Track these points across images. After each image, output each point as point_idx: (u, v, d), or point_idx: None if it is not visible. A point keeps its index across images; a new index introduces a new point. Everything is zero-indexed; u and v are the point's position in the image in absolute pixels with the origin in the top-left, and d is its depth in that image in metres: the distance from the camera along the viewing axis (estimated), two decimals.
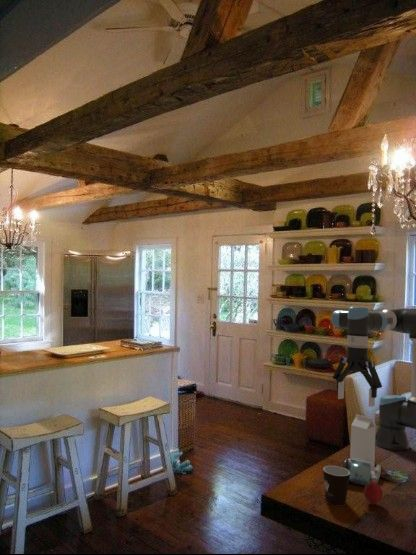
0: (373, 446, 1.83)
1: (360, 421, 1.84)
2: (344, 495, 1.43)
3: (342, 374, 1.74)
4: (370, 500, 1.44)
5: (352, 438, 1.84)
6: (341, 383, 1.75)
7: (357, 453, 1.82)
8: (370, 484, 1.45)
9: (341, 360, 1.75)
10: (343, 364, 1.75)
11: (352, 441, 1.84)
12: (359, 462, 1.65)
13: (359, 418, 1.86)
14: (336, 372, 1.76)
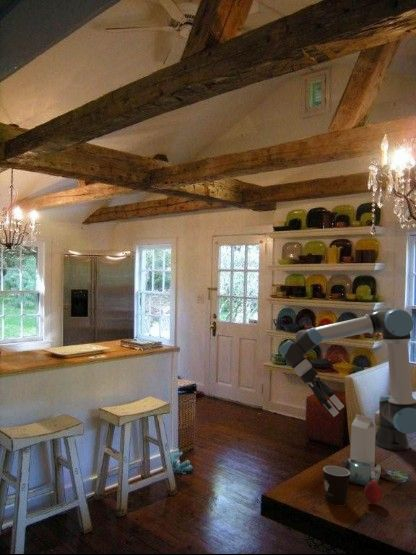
0: (373, 446, 1.83)
1: (360, 421, 1.84)
2: (344, 495, 1.43)
3: None
4: (370, 500, 1.44)
5: (352, 438, 1.84)
6: (331, 397, 1.97)
7: (357, 453, 1.82)
8: (370, 484, 1.45)
9: None
10: (320, 383, 1.99)
11: (352, 441, 1.84)
12: (359, 462, 1.65)
13: (359, 418, 1.86)
14: None
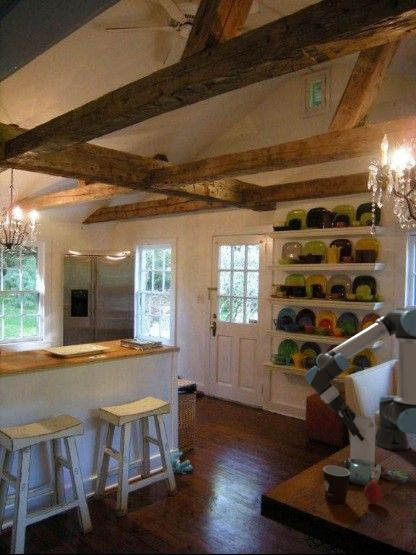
0: (373, 446, 1.83)
1: (360, 421, 1.84)
2: (344, 495, 1.43)
3: None
4: (370, 500, 1.44)
5: (352, 438, 1.84)
6: None
7: (357, 453, 1.82)
8: (370, 484, 1.45)
9: None
10: None
11: (352, 441, 1.84)
12: (359, 462, 1.65)
13: (359, 418, 1.86)
14: None
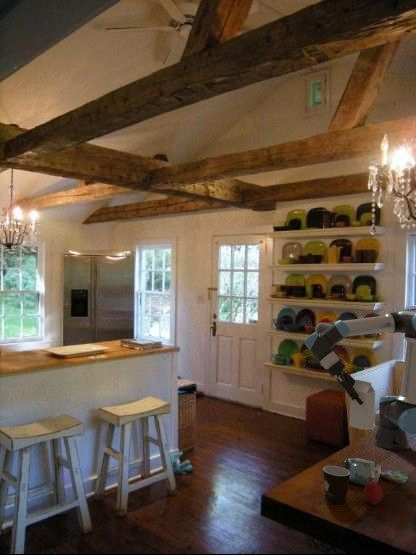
0: (372, 411, 1.82)
1: (360, 386, 1.83)
2: (344, 495, 1.43)
3: None
4: (370, 500, 1.44)
5: (351, 403, 1.83)
6: None
7: (356, 418, 1.81)
8: (370, 484, 1.45)
9: None
10: None
11: (351, 406, 1.83)
12: (359, 462, 1.65)
13: (359, 383, 1.85)
14: None
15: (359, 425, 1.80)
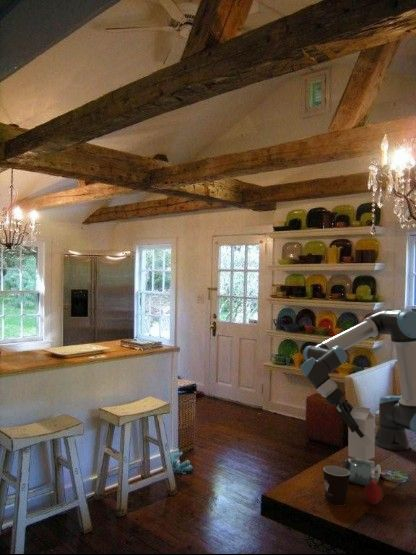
0: (373, 439, 1.70)
1: (358, 412, 1.71)
2: (344, 495, 1.43)
3: None
4: (370, 500, 1.44)
5: (350, 431, 1.71)
6: None
7: (355, 447, 1.69)
8: (370, 484, 1.45)
9: None
10: None
11: (350, 434, 1.71)
12: (359, 462, 1.65)
13: (356, 409, 1.73)
14: None
15: (359, 455, 1.67)
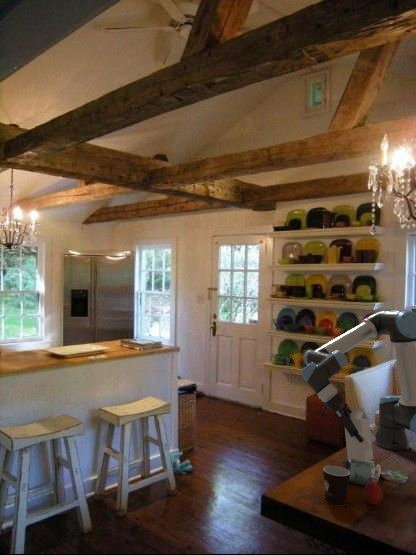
0: (369, 440, 1.71)
1: (352, 414, 1.75)
2: (344, 495, 1.43)
3: None
4: (370, 500, 1.44)
5: (347, 433, 1.72)
6: None
7: (354, 449, 1.69)
8: (370, 484, 1.45)
9: None
10: None
11: (347, 436, 1.72)
12: (359, 462, 1.65)
13: (351, 411, 1.76)
14: None
15: (358, 456, 1.67)
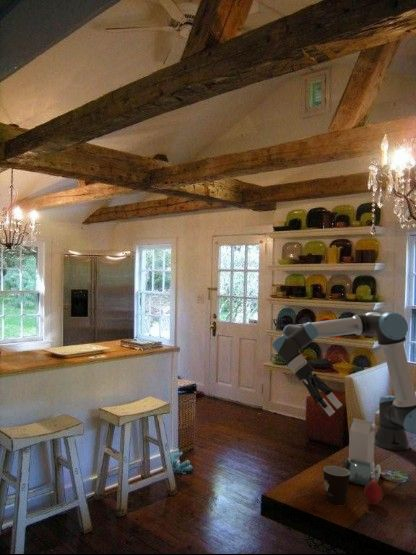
0: (372, 452, 1.70)
1: (359, 426, 1.70)
2: (344, 495, 1.43)
3: None
4: (370, 500, 1.44)
5: (351, 445, 1.69)
6: (328, 395, 1.84)
7: None
8: (370, 484, 1.45)
9: None
10: None
11: (351, 448, 1.69)
12: (359, 462, 1.65)
13: (357, 422, 1.71)
14: None
15: None
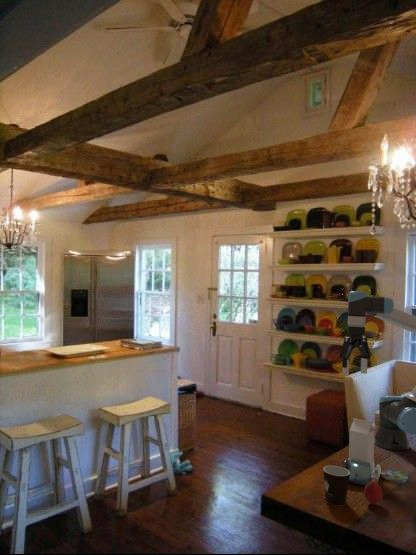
0: (372, 452, 1.70)
1: (359, 426, 1.70)
2: (344, 495, 1.43)
3: None
4: (370, 500, 1.44)
5: (351, 445, 1.69)
6: (362, 359, 1.99)
7: None
8: (370, 484, 1.45)
9: None
10: (363, 343, 1.99)
11: (351, 448, 1.69)
12: (359, 462, 1.65)
13: (357, 422, 1.71)
14: None
15: None
